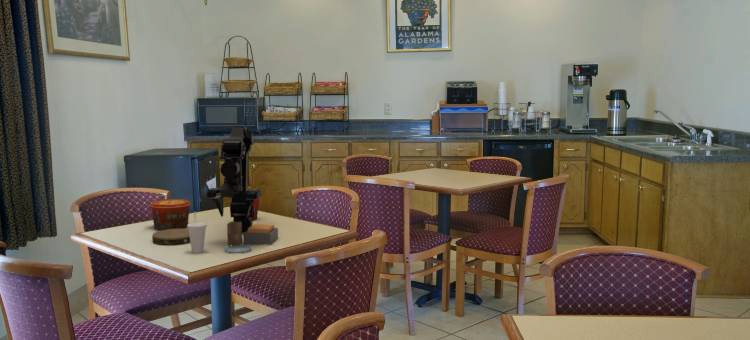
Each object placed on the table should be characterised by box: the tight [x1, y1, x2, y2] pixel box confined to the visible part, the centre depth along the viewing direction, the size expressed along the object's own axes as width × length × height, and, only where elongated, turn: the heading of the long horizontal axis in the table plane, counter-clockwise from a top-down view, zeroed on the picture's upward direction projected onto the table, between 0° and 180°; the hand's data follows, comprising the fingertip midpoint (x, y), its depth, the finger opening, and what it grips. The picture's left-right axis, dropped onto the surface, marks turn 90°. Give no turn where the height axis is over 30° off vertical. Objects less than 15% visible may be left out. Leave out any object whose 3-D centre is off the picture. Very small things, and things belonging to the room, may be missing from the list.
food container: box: [148, 198, 192, 231], centre depth 237 cm, size 16×16×11 cm
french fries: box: [247, 186, 260, 222], centre depth 252 cm, size 9×8×15 cm
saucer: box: [224, 244, 252, 254], centre depth 203 cm, size 9×9×1 cm
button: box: [248, 223, 275, 233], centre depth 216 cm, size 8×8×2 cm
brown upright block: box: [226, 221, 243, 246], centre depth 211 cm, size 4×4×8 cm
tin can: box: [151, 228, 191, 247], centre depth 217 cm, size 16×16×3 cm
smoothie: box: [186, 211, 208, 254], centre depth 200 cm, size 6×6×14 cm
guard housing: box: [243, 227, 279, 245], centre depth 216 cm, size 10×10×4 cm
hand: (234, 216), depth 210 cm, fingers open, 9 cm apart
